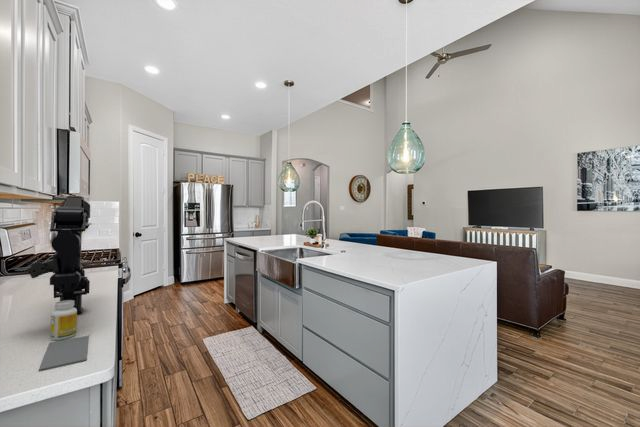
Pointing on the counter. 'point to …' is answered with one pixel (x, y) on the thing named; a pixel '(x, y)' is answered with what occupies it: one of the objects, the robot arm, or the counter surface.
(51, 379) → the counter surface
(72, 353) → the mat
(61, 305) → the supplement bottle
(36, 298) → the counter surface
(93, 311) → the counter surface
